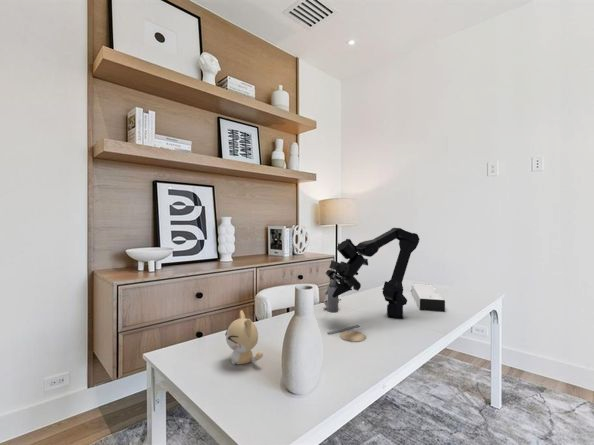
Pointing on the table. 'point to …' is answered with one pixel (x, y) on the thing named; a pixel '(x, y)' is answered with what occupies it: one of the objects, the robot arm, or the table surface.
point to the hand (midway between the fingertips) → (330, 295)
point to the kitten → (242, 340)
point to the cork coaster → (352, 336)
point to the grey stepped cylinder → (331, 301)
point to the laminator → (427, 297)
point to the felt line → (343, 329)
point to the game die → (326, 300)
